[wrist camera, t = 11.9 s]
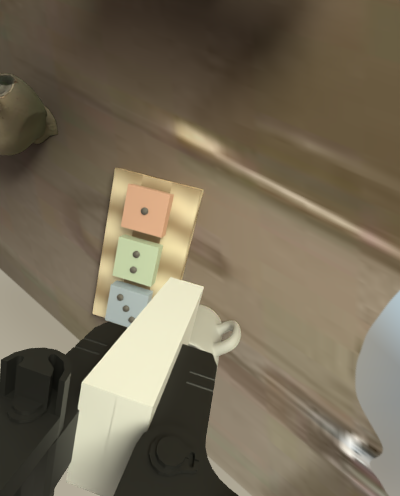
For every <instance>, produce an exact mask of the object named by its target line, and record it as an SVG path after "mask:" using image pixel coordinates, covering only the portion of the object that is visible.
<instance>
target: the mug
mask: <svg viewBox="0 0 400 496" xmlns="http://www.w3.org/2000/svg"><path fill="white" fill-rule="evenodd" d="M229 331H233V332H232V335H231V336H230V337H229V338H228V339H226V340H224V341H222V336H223V334H224V333H227V332H229ZM240 338H241V330H240V327H239V325H238V323H237V322H236V321H226V322H223V323H222V322H221V320H220V318H219V316H218V315H217V314H216V313H215V312H214V311H213V310H212V309H210V308H208V307H206V306H204V305H199V307H198V311H197V314H196V318H195V322H194V326H193V330H192V333H191V337H190V341H189V344H188V346H190V347H193V348H197V349H200V350H203V351H206V352H209V353H212V354H213V356H214V359H215V362H216V364H217V366H218V360H219V356H220V355H222V354H225V353H227V352H229V351H231V350H233V349H234V348H235V347H236V346H237V345H238V343H239V341H240ZM221 341H222V342H221ZM216 372H217V371H216ZM215 378H216V377H215Z"/></svg>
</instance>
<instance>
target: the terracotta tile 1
mask: <svg viewBox="0 0 400 496" xmlns="http://www.w3.org/2000/svg"><path fill="white" fill-rule="evenodd" d="M173 198H174V194H171V193H167V192H163V191H159V190H155V189H151V188H148V187H144V186H140V185H136V184H128V188H127V193H126V199H125V205H124V211H123V217H122V223H121V227H125V228H128V229H132V230H135V231H139V232H142V233H146V234H150V235H153V236H157V237H160V238H162V237H163V236H165V235H166V230H167V225H168V221H169V216H170V211H171V207H172V202H173Z"/></svg>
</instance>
